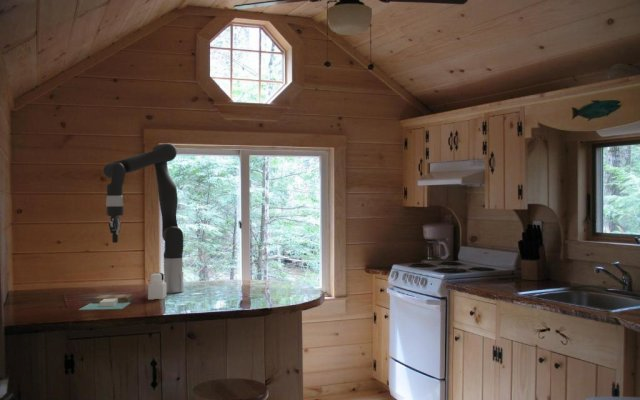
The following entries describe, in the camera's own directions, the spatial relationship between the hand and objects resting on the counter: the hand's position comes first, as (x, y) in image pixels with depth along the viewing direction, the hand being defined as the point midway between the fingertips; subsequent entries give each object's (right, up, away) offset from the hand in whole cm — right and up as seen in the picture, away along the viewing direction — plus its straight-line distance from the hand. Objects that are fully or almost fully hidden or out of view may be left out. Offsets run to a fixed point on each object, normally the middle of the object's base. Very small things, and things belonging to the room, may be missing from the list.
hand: (115, 242), depth 293 cm
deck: (+1, -27, -4) cm, 27 cm away
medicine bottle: (+19, -27, +4) cm, 33 cm away
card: (+2, -27, -14) cm, 30 cm away
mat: (+1, -27, -17) cm, 32 cm away
